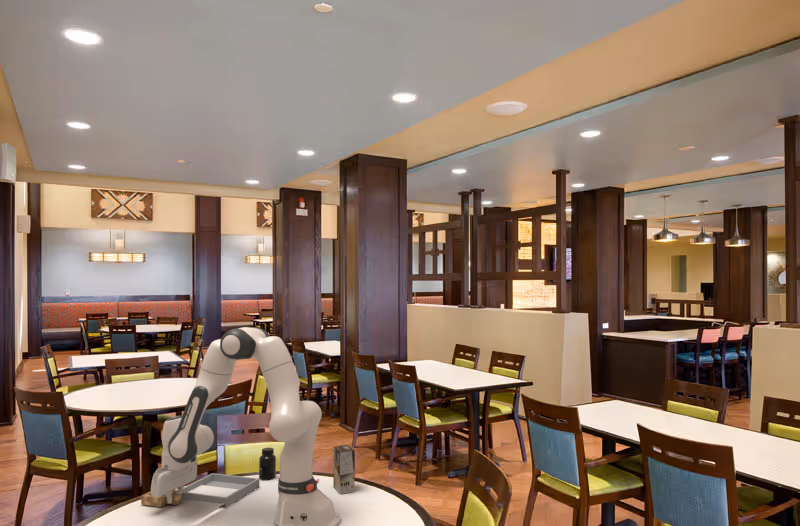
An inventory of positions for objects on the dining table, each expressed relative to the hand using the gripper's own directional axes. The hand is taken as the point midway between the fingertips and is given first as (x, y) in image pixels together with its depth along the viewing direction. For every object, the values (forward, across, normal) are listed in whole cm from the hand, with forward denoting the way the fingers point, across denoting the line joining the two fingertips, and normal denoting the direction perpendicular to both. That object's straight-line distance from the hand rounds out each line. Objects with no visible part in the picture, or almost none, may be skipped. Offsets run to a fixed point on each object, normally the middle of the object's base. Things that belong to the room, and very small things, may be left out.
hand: (174, 500), depth 197 cm
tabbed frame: (+1, 0, +4) cm, 4 cm away
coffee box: (+3, +36, -51) cm, 62 cm away
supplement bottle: (+3, +39, -15) cm, 42 cm away
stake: (+3, 0, +6) cm, 7 cm away
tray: (+3, +17, -6) cm, 18 cm away
